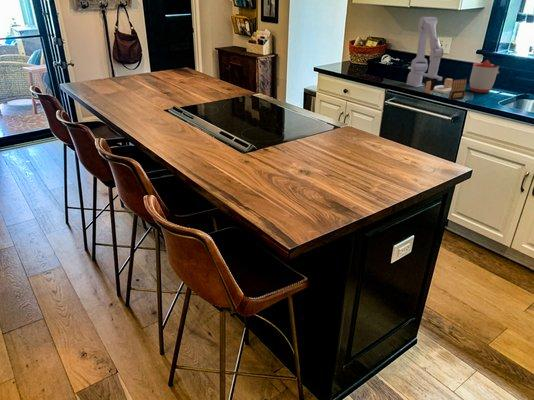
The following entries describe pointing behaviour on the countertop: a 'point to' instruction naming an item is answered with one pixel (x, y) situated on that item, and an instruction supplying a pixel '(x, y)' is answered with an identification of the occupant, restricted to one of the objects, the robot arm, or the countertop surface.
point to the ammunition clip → (457, 90)
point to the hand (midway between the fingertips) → (429, 89)
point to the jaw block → (428, 87)
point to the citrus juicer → (483, 77)
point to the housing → (446, 87)
